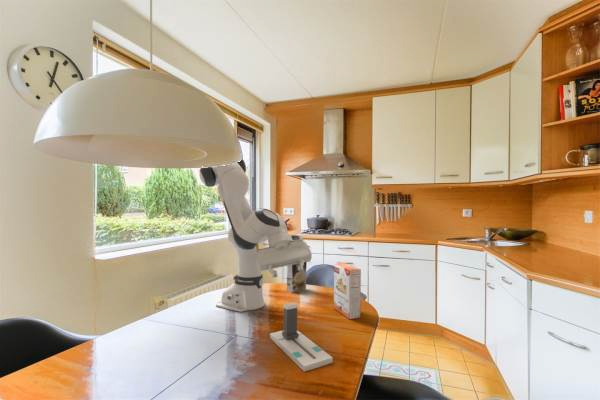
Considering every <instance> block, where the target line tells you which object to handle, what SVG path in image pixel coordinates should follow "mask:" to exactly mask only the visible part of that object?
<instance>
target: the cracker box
mask: <svg viewBox="0 0 600 400" xmlns="http://www.w3.org/2000/svg"><path fill="white" fill-rule="evenodd" d="M361 271H362V270H361V269H360V268H359V267H356V266H353V265H351V264H348V263H345V262H339V263H337V262H336V263H334V264H333V309H335V310H336V311H337V312H338V313H340V315H341V314H342V315H343V316H344V317H345V318H346V319H348V320H355V319H360V318H361V311H362V310H361V306H362V305H361V302H362V299H361V296H362V295H361V294H362V293H361V291H362V289H361V285H362V283H361V281H362V278H361V277H362V272H361Z"/></svg>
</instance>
